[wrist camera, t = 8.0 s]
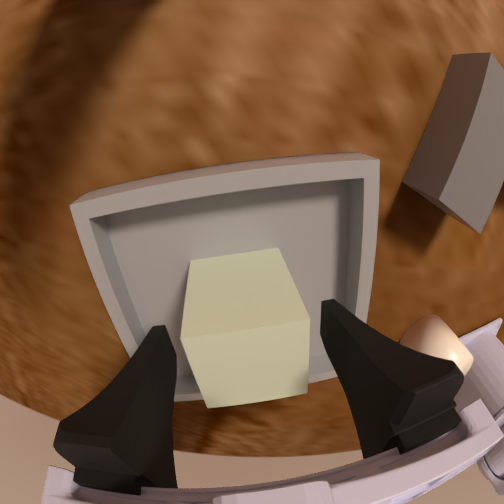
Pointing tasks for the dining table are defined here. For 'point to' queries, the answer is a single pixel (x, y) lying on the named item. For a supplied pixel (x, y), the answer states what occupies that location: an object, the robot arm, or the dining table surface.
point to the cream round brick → (437, 341)
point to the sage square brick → (245, 329)
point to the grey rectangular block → (464, 142)
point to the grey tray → (233, 240)
